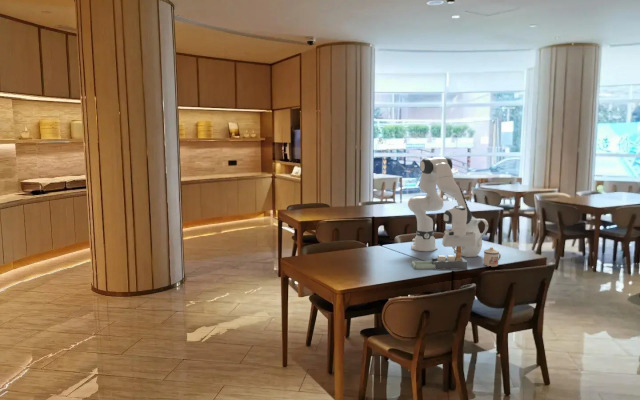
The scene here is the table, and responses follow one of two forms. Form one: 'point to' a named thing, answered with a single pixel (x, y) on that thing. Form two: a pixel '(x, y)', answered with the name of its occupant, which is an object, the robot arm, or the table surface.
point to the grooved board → (449, 263)
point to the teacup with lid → (491, 257)
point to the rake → (458, 254)
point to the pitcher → (473, 227)
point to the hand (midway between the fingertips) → (458, 253)
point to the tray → (423, 265)
